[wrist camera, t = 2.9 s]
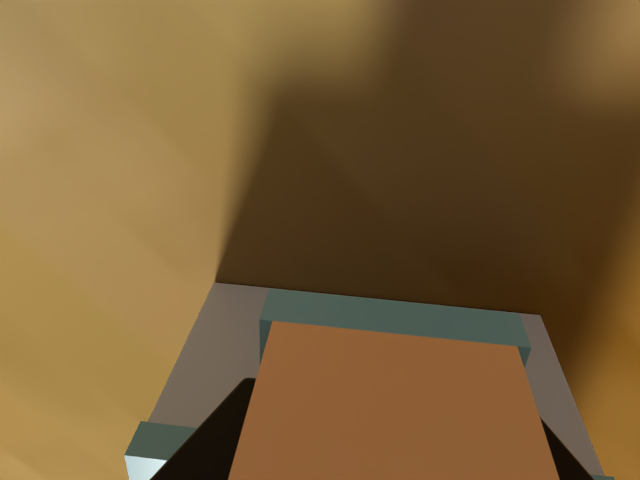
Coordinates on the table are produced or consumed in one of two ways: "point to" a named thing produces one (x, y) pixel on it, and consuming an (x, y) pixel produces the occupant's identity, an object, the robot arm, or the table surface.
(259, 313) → the tub
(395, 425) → the lid
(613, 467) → the table surface
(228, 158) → the table surface
